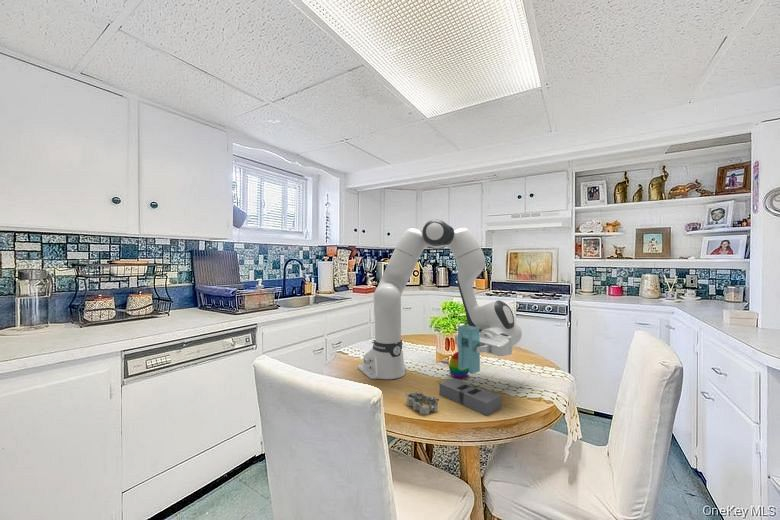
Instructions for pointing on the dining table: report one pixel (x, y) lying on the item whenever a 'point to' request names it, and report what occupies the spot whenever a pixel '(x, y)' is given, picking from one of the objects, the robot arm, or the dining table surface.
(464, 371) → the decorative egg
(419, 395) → the egg carton
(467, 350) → the clip
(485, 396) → the grey slotted block
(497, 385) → the dining table surface
